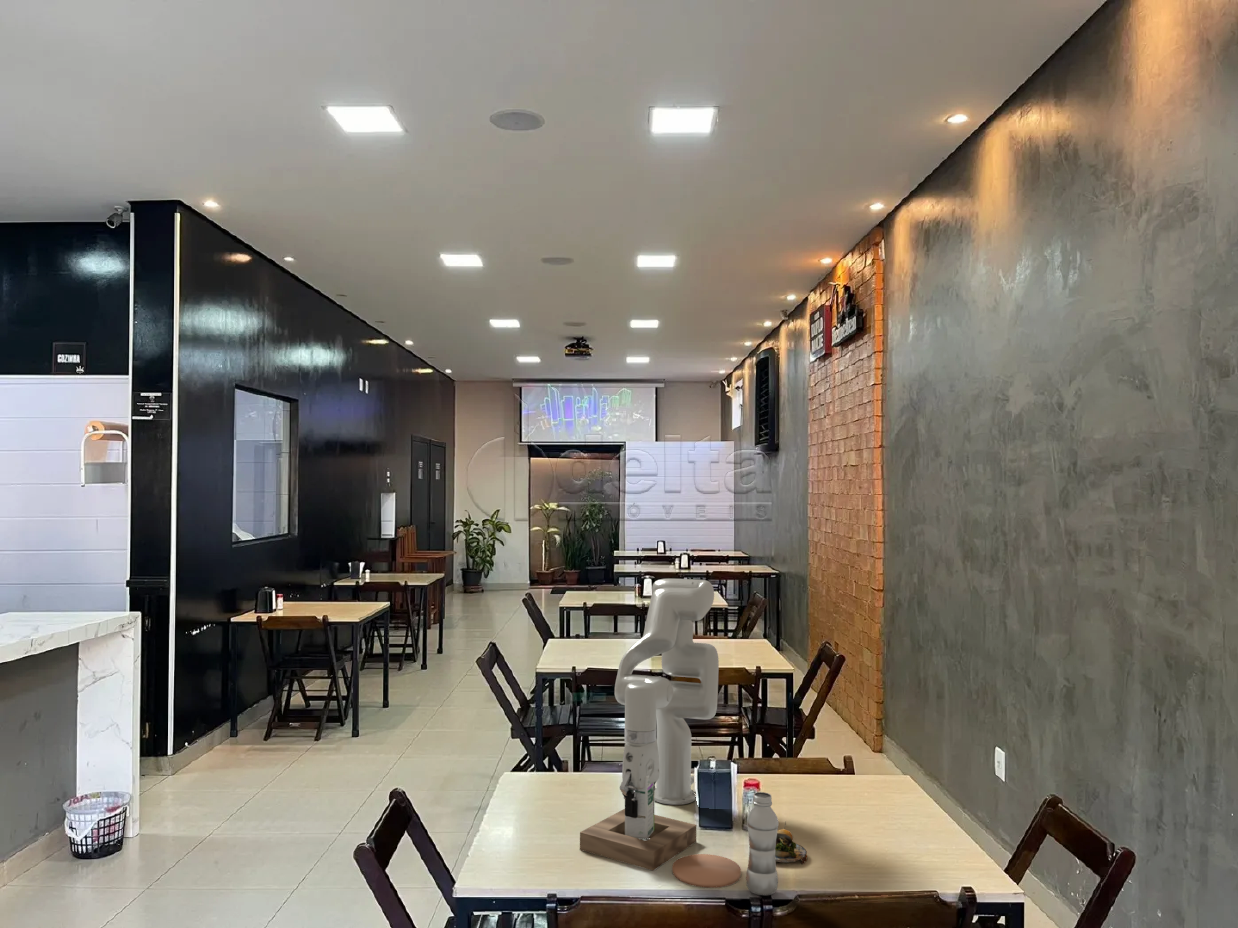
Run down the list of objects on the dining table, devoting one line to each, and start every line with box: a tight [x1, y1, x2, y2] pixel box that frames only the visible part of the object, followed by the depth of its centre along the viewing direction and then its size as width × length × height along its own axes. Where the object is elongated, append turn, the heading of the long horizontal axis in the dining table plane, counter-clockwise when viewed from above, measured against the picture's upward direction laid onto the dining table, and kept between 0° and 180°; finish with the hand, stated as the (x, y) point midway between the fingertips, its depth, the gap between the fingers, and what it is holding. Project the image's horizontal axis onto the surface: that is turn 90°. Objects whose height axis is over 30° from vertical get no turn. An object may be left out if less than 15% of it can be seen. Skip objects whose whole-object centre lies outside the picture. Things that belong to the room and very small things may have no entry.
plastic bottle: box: [745, 791, 780, 896], centre depth 178 cm, size 6×7×20 cm
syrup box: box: [625, 775, 655, 840], centre depth 202 cm, size 6×6×14 cm
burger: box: [775, 821, 808, 865], centre depth 197 cm, size 12×12×8 cm
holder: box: [579, 808, 697, 872], centre depth 202 cm, size 20×20×4 cm
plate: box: [671, 853, 742, 889], centre depth 187 cm, size 15×15×1 cm
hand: (639, 811), depth 202 cm, fingers closed on syrup box, 6 cm apart
